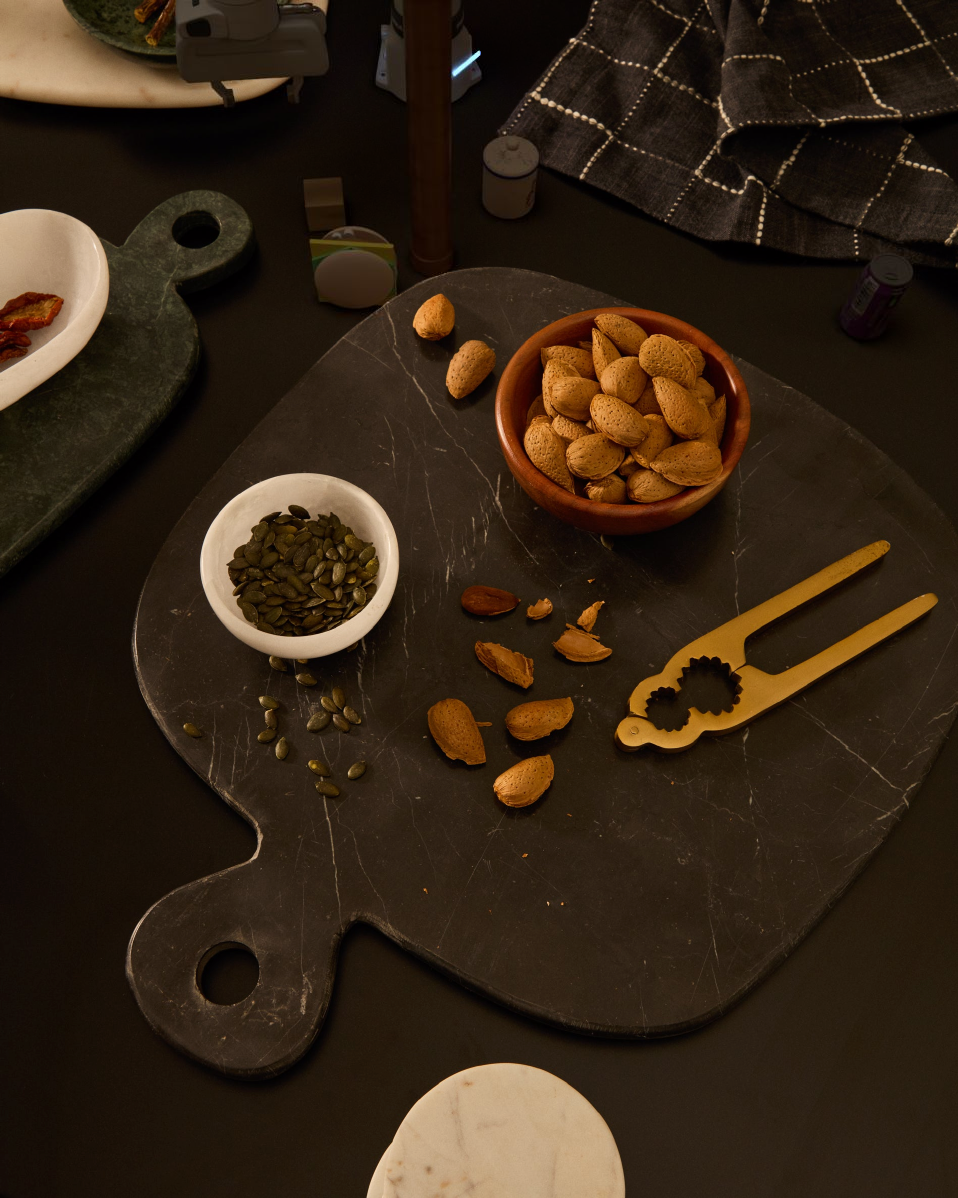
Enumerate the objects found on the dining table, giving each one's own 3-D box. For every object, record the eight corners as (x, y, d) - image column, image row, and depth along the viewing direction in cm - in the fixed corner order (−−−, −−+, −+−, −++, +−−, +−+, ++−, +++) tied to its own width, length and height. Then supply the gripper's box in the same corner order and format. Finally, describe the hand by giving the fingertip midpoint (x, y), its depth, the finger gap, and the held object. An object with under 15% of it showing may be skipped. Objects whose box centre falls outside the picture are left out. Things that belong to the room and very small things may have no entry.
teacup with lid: (537, 220, 159) (544, 161, 149) (482, 221, 159) (484, 162, 148) (531, 168, 165) (537, 107, 154) (477, 169, 164) (479, 108, 154)
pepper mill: (408, 245, 156) (392, -91, 111) (450, 242, 157) (452, -94, 111) (412, 277, 153) (398, -54, 108) (455, 274, 154) (459, -57, 108)
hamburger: (400, 276, 153) (396, 216, 143) (395, 317, 150) (391, 259, 139) (324, 271, 153) (314, 211, 143) (317, 312, 150) (307, 254, 139)
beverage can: (882, 346, 150) (916, 290, 139) (836, 338, 151) (866, 282, 140) (883, 311, 153) (916, 254, 142) (838, 303, 154) (868, 246, 143)
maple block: (307, 204, 159) (303, 179, 155) (343, 201, 160) (341, 176, 155) (309, 231, 157) (305, 206, 152) (346, 228, 157) (343, 204, 153)
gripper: (322, -14, 128) (333, 82, 141) (164, -5, 126) (190, 91, 139) (325, 17, 125) (336, 112, 138) (164, 26, 124) (190, 121, 136)
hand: (261, 102), depth 138 cm, fingers open, 8 cm apart
